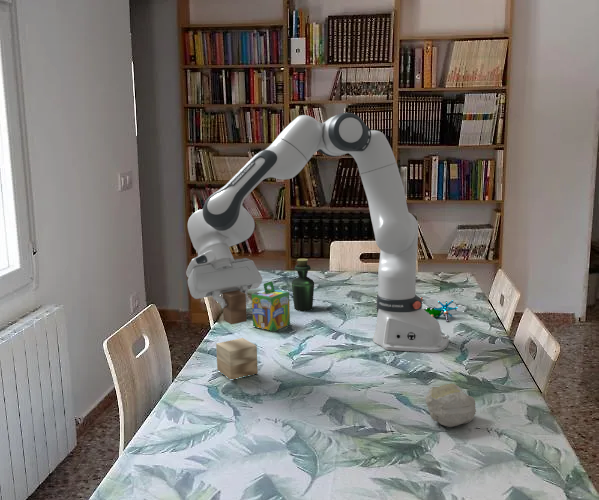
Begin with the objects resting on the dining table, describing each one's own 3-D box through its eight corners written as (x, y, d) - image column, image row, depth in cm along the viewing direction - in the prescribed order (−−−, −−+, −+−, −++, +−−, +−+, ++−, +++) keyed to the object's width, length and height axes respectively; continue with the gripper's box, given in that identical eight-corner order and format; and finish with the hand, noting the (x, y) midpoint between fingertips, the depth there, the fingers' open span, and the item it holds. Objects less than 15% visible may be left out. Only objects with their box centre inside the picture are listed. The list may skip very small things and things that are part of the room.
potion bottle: (312, 312, 234) (311, 262, 230) (289, 311, 235) (288, 261, 232) (316, 306, 241) (315, 257, 238) (294, 305, 243) (293, 257, 240)
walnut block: (238, 317, 180) (237, 290, 179) (246, 321, 176) (245, 293, 175) (223, 320, 178) (222, 292, 176) (231, 324, 174) (230, 296, 173)
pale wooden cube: (243, 365, 185) (242, 337, 184) (257, 374, 179) (256, 345, 177) (217, 371, 181) (216, 343, 180) (230, 381, 175) (229, 351, 173)
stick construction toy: (459, 309, 226) (454, 295, 221) (462, 325, 221) (457, 311, 216) (424, 317, 229) (418, 303, 224) (426, 333, 224) (421, 320, 219)
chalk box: (273, 332, 213) (272, 287, 210) (251, 327, 219) (250, 283, 216) (291, 325, 220) (290, 281, 217) (269, 320, 226) (268, 278, 223)
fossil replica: (485, 419, 150) (445, 412, 156) (485, 383, 149) (444, 377, 155) (461, 436, 141) (419, 426, 147) (460, 397, 140) (418, 389, 146)
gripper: (247, 263, 190) (266, 304, 183) (180, 274, 179) (197, 318, 173) (254, 250, 185) (273, 292, 179) (186, 260, 174) (203, 305, 168)
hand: (235, 305), depth 176 cm, fingers closed on walnut block, 4 cm apart
